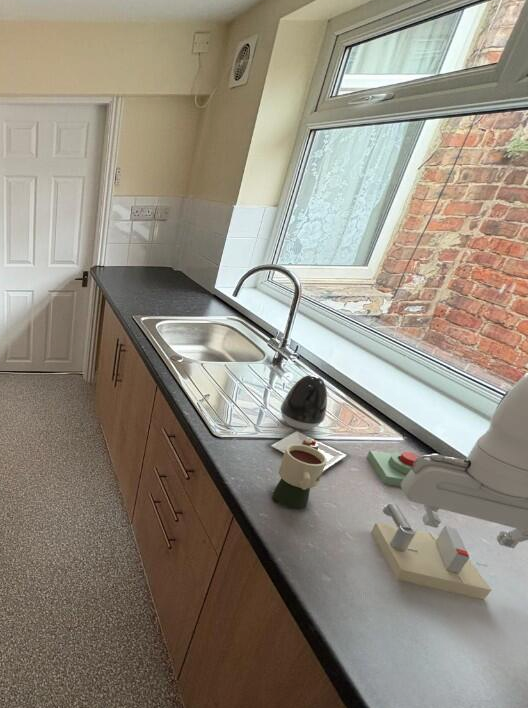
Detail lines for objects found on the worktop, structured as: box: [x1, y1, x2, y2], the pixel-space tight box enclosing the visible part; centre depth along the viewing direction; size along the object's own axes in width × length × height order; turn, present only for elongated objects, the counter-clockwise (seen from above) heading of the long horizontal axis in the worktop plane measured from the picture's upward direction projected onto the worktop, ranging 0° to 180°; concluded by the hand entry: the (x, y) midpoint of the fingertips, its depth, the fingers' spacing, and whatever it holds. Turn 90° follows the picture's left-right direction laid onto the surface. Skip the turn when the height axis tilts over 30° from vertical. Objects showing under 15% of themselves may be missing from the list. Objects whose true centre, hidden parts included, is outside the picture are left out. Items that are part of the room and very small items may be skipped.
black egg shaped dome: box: [280, 374, 328, 431], centre depth 112 cm, size 10×10×15 cm
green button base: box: [366, 449, 412, 488], centre depth 96 cm, size 11×10×4 cm
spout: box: [382, 503, 417, 551], centre depth 77 cm, size 2×8×5 cm, turn 161°
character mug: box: [272, 444, 327, 510], centre depth 87 cm, size 11×7×13 cm, turn 157°
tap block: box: [371, 522, 492, 600], centre depth 74 cm, size 14×11×4 cm
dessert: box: [270, 430, 347, 471], centre depth 103 cm, size 12×12×5 cm
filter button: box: [399, 451, 420, 467], centre depth 95 cm, size 4×4×2 cm
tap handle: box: [436, 525, 470, 574], centre depth 72 cm, size 7×2×4 cm, turn 149°
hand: (465, 533), depth 70 cm, fingers open, 8 cm apart
